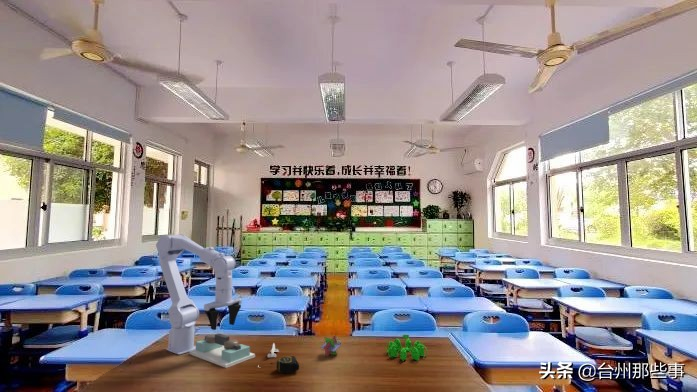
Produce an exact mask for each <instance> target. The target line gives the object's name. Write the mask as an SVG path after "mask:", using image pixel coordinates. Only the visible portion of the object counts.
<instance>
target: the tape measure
mask: <svg viewBox="0 0 697 392" xmlns="http://www.w3.org/2000/svg"><path fill="white" fill-rule="evenodd" d="M276 369H277V371H278V372H279V373H281V374H291V373H294V372H298V370H299V369H300V363H299V361H297V358H296V356H294V355H292V356H282V357H279V358H278V359H277V361H276Z"/></svg>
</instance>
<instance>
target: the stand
mask: <svg viewBox="0 0 697 392" xmlns="http://www.w3.org/2000/svg"><path fill="white" fill-rule="evenodd" d="M239 345H241V349H240V350H236V349H224V346H223V345H220V344H216V343H206V340H205V338H204V339H200V340H197V341H195V346H196V350H192V351H190V352H189V355H191V356H193V357H196V358H199V359H201V360H204V361H207V362H209V363H212V364H215V365H217V366H220V367H222V368H225V369H227V368H230V367H233V366H235V365H238V364H240V363H243V362H245V361H248V360H251V359H253V358H256V353H253V352H251V346H249V345H246V344H239Z"/></svg>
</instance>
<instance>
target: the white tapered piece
mask: <svg viewBox="0 0 697 392" xmlns="http://www.w3.org/2000/svg"><path fill="white" fill-rule="evenodd" d="M270 352H271V353H270ZM274 352H280V350H279V348H276V344H275V342H273V343H272V348H271V349H270V351H269V353H267V358H277V354H276V353H274ZM257 368H260V367H259V365H258V366H257Z"/></svg>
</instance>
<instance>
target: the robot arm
mask: <svg viewBox="0 0 697 392" xmlns="http://www.w3.org/2000/svg"><path fill="white" fill-rule="evenodd" d="M155 246H156V250H157V253H158V261H159V265H160V268H161V271H162V275H163V278H164V281H165V284H166V287H167V290H168V294H169V296H170V299H171V303H172V304H171V305H170V306H169V308H168V310H167V311H168V315H169V316H168V322H169V324H170V326H171V328H170V329H169V331H168V347H166V348H165V351H168V352H171V353H174V354H175V355H184V354H186V353H190V351H192V350H196V345H195V325H196V322H197V320H198V319H199V318H200V310H199V308H198V307H197V306H196V304H195V301H194V300H192V299H190V298H188V295H187V292H186V289H185V285H184V283H183V280H182V277H181V273H180V270H179V268H178V264H177V258H178V257H179V256H180V255H181V254H182V253H183V252H184V251H187V252H189V253H192V254H193V255H197V256H198V257H199V258H198V259H199V260H200V261H201V262H202V263H205V264H206V265H208V266H209V267H212V269H213V272H214V276H215V295H214V297H215V298H214V299H215V301H211V302H209V303H205V304H203V310H204V313H205V314H206V316H207V319H208V322H209V326H210V330H213V331H216V330H217V323H218V316H219V312H220V311H219V310H217V309H220V308H224V307H227V309H228V315H229V316H228V324H229V325H232V326H233V325H234V326H235V323H236V319H237V317H238V313H239V311H240V309H241V308H242V305H241V304H242V301H243V300H242V298H241V297H236V298H232V297H233V296H232V295H233V270H234V269H235V267H236V264H237V263H236V262H237V261H236V260H235V258H234V257H233V256H232V255H230V254H229V255H225V253H224V252H219V251H218V250H215V247H213V246H209V247H208V246H207V247H203V246H201V245H200V244H198V243H197V242H195V241H194V240H193V239H190V238H189V236H186V235H184V234H172V235H171V234H170V235H167V234H163V235H161V236H159V238H158V239H157V242H156V245H155Z"/></svg>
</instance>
